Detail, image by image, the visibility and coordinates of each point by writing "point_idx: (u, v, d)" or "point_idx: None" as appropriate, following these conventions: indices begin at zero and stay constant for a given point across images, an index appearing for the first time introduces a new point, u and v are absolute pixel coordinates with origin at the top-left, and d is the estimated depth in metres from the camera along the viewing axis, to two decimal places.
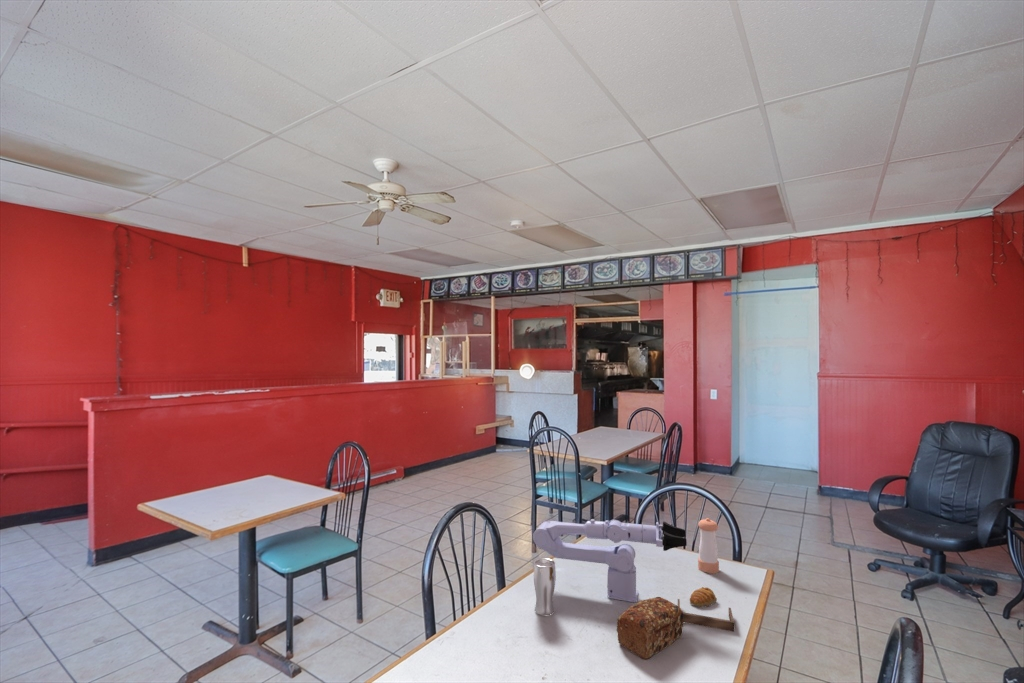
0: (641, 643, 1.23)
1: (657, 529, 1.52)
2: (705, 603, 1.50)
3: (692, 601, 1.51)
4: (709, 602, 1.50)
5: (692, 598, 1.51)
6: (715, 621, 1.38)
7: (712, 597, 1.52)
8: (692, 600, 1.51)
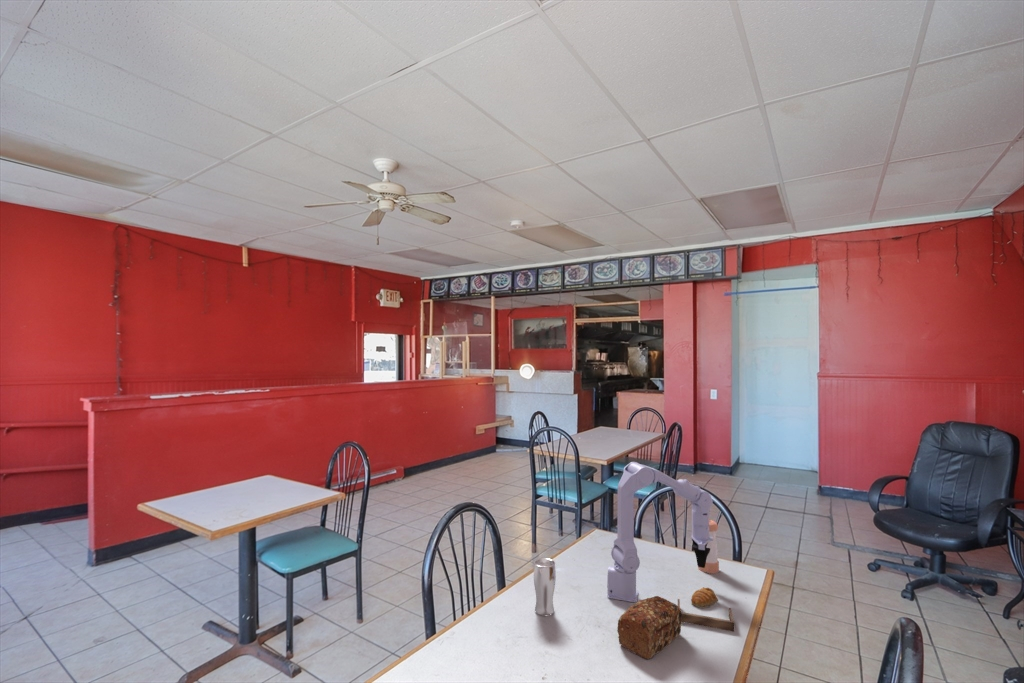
0: (643, 644, 1.23)
1: (708, 540, 1.61)
2: (706, 603, 1.49)
3: (693, 601, 1.50)
4: (710, 602, 1.50)
5: (693, 598, 1.51)
6: (715, 621, 1.38)
7: (713, 597, 1.51)
8: (693, 600, 1.50)
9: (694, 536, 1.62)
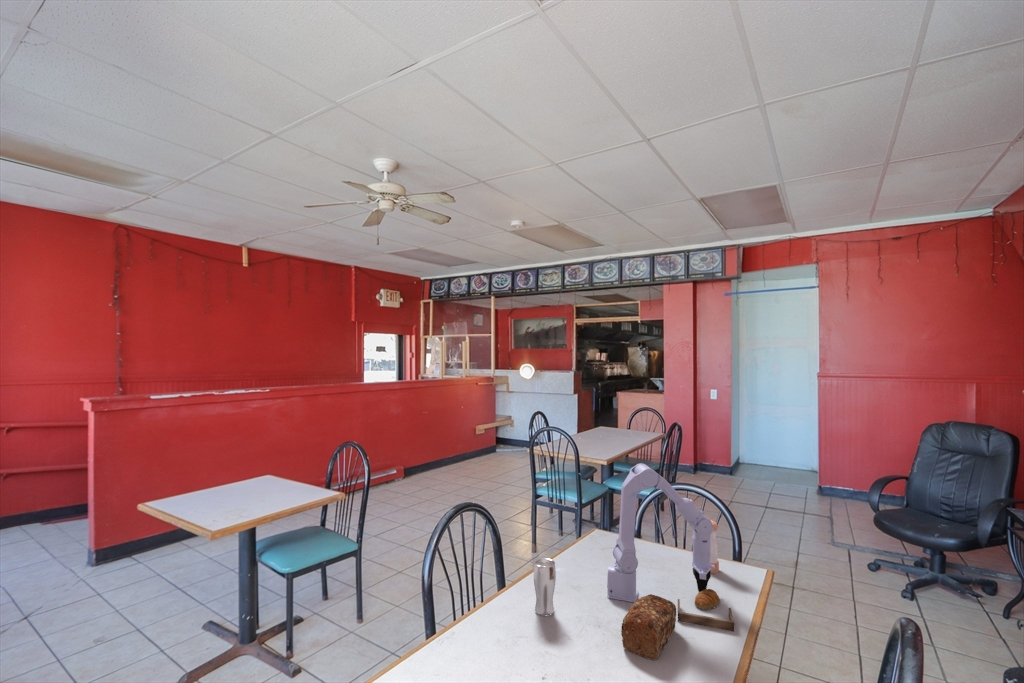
0: (650, 645, 1.23)
1: (710, 569, 1.55)
2: (710, 605, 1.48)
3: (697, 604, 1.49)
4: (714, 604, 1.49)
5: (697, 601, 1.49)
6: (715, 621, 1.38)
7: (717, 599, 1.50)
8: (697, 603, 1.49)
9: (695, 564, 1.56)
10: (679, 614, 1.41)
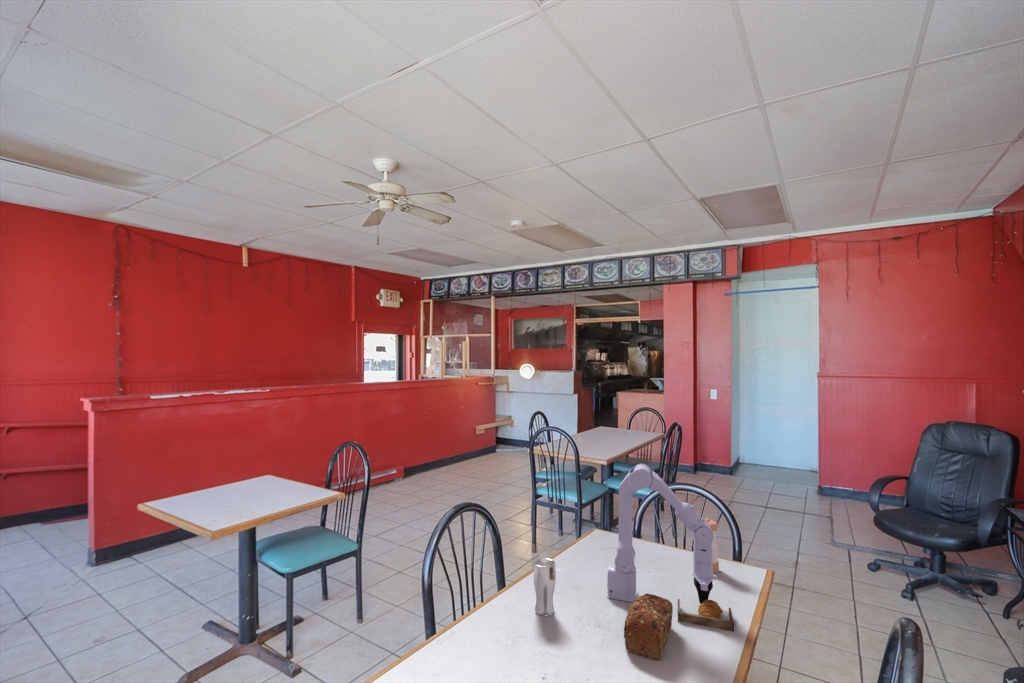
0: (654, 645, 1.23)
1: (711, 579, 1.47)
2: None
3: None
4: (719, 616, 1.42)
5: (703, 615, 1.41)
6: (715, 621, 1.38)
7: (720, 610, 1.43)
8: None
9: (696, 574, 1.49)
10: (679, 614, 1.41)
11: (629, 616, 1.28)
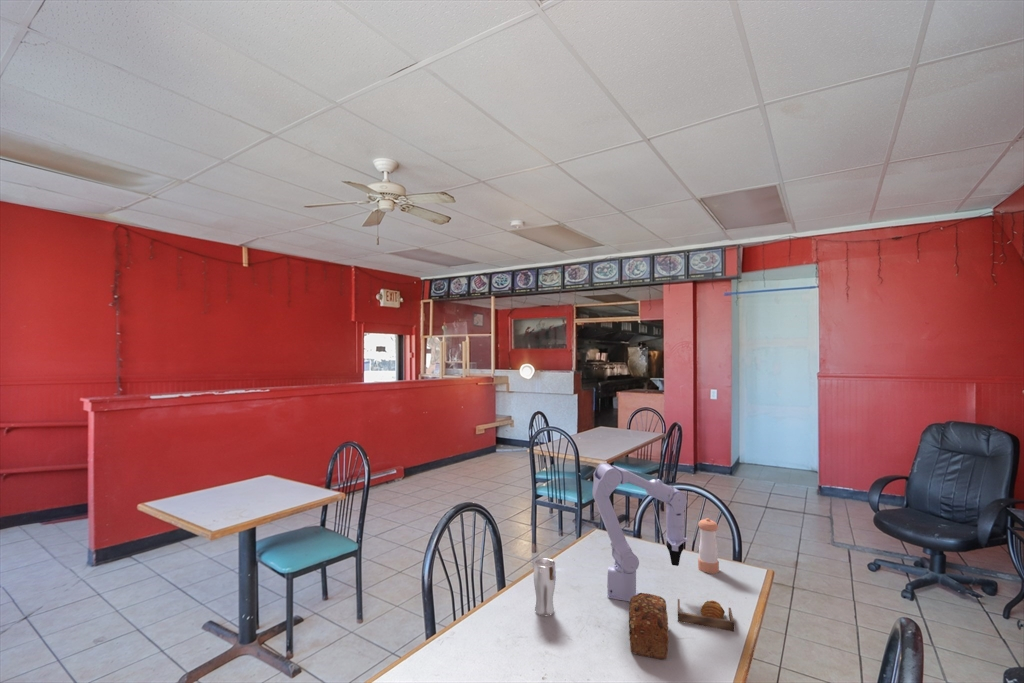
0: (661, 645, 1.23)
1: (682, 541, 1.57)
2: None
3: None
4: (722, 617, 1.42)
5: (707, 616, 1.41)
6: (715, 621, 1.38)
7: (722, 610, 1.43)
8: None
9: (668, 537, 1.59)
10: (679, 614, 1.41)
11: (633, 618, 1.27)
